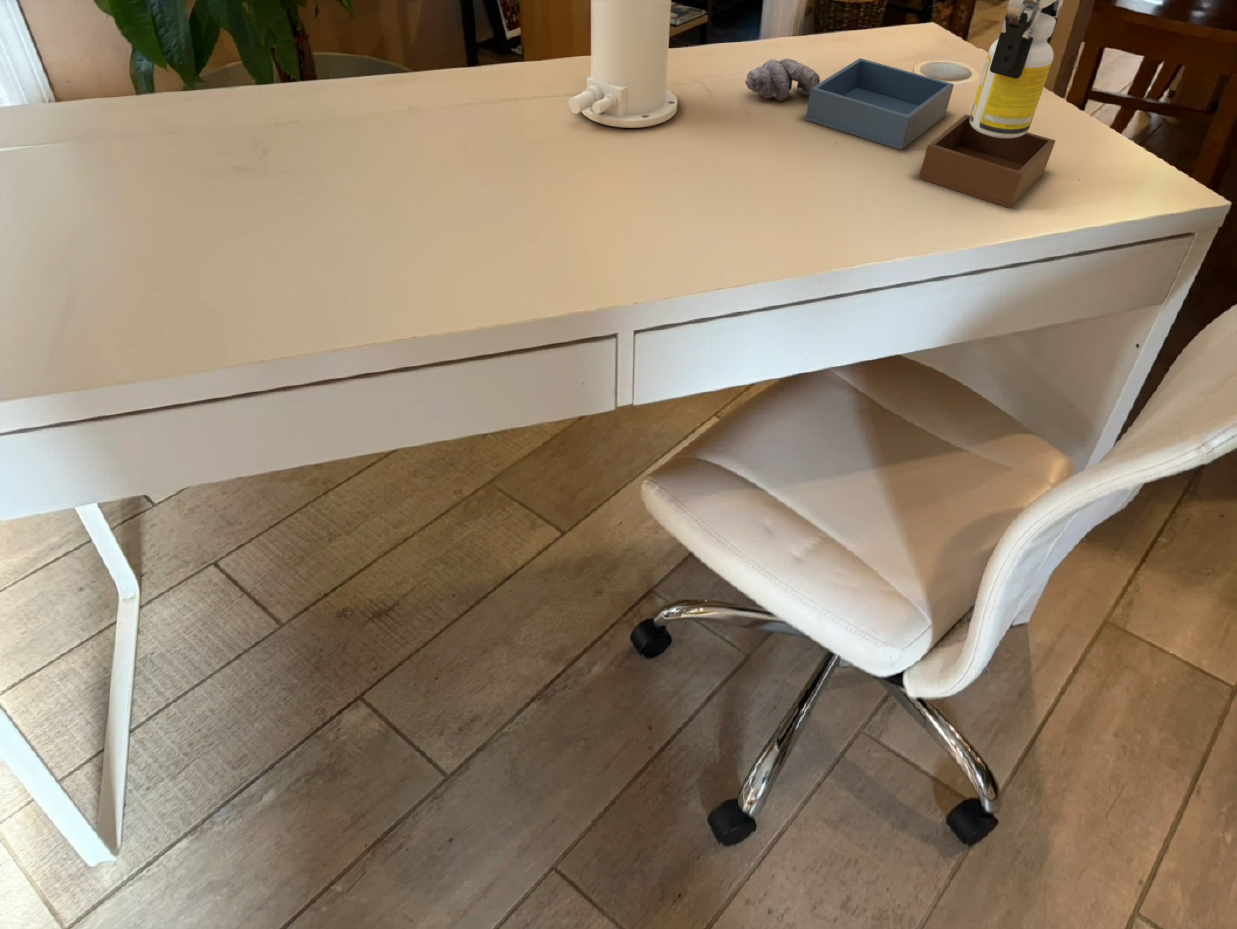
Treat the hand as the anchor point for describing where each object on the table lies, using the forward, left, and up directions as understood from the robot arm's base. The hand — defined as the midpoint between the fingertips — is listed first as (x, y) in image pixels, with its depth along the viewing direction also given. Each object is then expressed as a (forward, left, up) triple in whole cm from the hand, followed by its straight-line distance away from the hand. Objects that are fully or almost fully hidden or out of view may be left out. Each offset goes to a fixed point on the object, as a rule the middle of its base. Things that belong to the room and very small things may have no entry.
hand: (1017, 63), depth 96 cm
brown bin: (0, 0, -13) cm, 13 cm away
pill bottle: (0, 0, -7) cm, 7 cm away
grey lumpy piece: (+4, +30, -13) cm, 32 cm away
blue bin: (+7, +17, -13) cm, 22 cm away
